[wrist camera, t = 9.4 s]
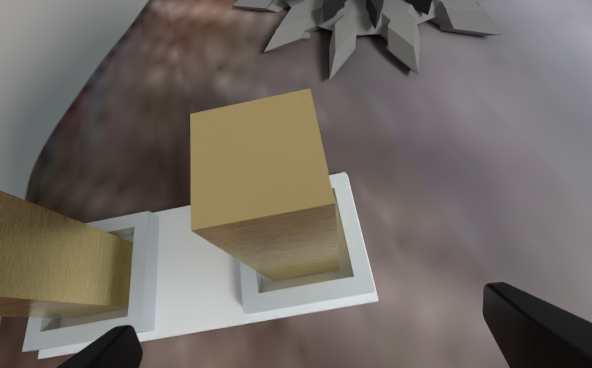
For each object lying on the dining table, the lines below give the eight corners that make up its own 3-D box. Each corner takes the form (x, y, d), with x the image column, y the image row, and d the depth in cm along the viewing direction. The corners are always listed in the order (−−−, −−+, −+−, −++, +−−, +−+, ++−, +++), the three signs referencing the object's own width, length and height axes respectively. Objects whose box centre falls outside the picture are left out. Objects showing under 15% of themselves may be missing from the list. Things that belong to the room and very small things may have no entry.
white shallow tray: (377, 301, 20) (381, 298, 18) (48, 357, 22) (16, 361, 20) (347, 178, 24) (347, 165, 22) (68, 233, 25) (44, 225, 23)
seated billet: (131, 307, 21) (-103, 288, 10) (70, 318, 22) (-224, 311, 10) (136, 243, 23) (-57, 168, 12) (80, 254, 24) (-160, 190, 12)
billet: (339, 269, 21) (335, 203, 9) (273, 281, 21) (190, 230, 10) (326, 206, 23) (310, 88, 11) (266, 218, 23) (190, 113, 12)
